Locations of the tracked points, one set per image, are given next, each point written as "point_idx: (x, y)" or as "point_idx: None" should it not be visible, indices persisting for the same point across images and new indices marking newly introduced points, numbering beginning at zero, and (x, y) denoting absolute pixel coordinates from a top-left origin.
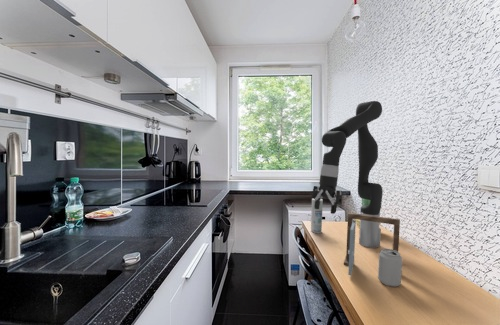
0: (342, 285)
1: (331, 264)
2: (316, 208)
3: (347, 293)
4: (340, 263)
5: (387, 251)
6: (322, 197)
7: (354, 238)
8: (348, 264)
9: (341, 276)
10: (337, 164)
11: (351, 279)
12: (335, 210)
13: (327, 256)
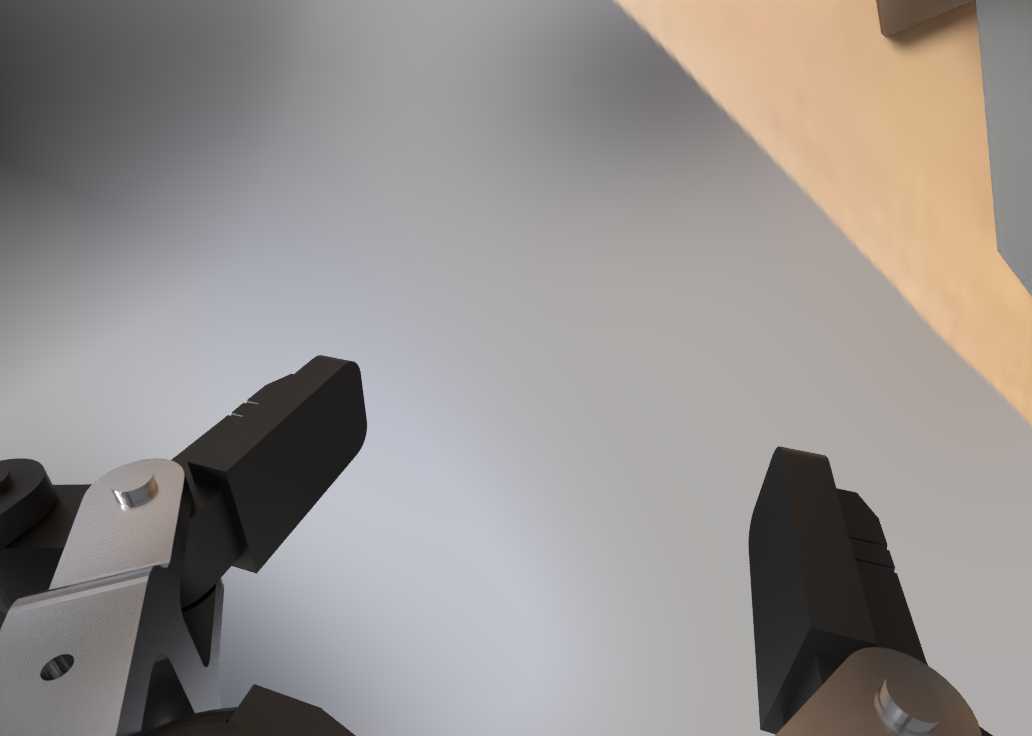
0: (967, 361)
1: (772, 138)
2: (358, 436)
3: (1024, 416)
4: (840, 37)
5: None
6: (159, 584)
7: None
8: (941, 10)
9: (926, 260)
10: None
11: None
12: (872, 561)
13: (660, 7)
